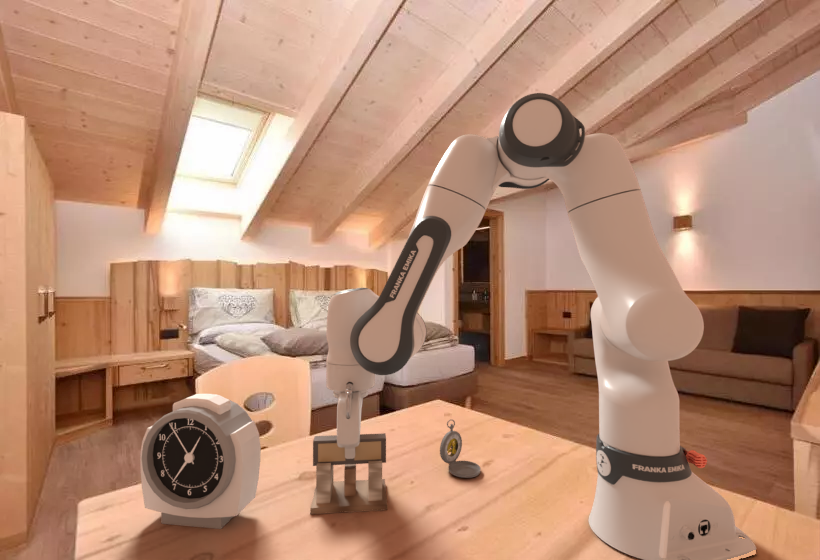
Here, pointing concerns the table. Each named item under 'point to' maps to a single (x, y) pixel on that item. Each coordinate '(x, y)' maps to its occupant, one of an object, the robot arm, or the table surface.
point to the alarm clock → (200, 462)
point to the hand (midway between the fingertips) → (350, 452)
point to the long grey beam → (329, 452)
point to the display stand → (349, 490)
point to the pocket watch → (456, 455)
